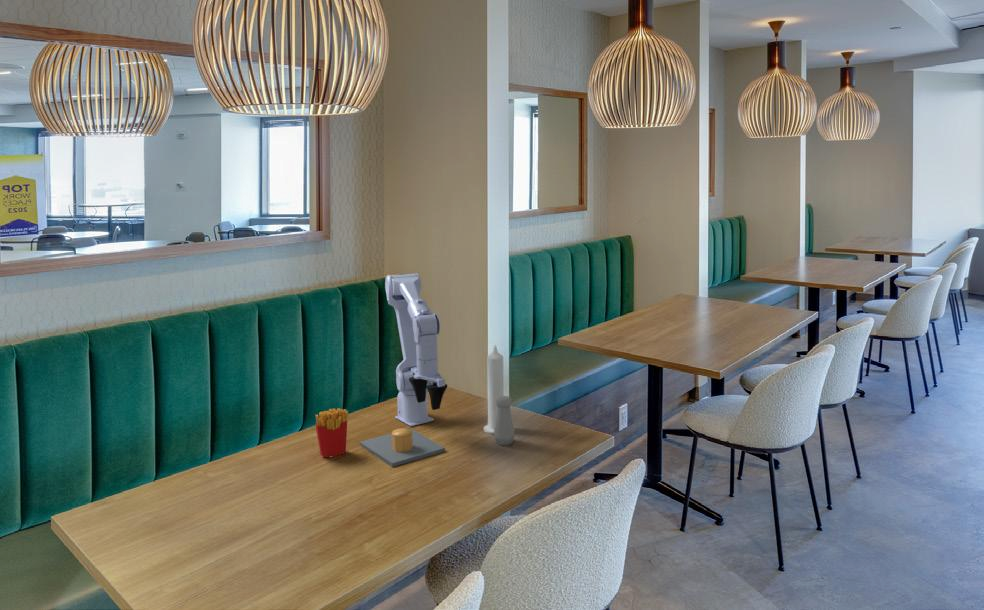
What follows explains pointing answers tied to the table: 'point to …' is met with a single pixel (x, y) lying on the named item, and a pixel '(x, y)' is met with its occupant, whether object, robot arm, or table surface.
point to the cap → (402, 440)
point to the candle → (494, 387)
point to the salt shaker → (504, 422)
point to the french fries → (332, 432)
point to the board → (387, 454)
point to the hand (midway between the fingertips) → (428, 405)
